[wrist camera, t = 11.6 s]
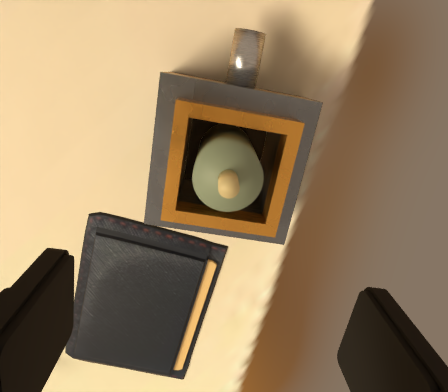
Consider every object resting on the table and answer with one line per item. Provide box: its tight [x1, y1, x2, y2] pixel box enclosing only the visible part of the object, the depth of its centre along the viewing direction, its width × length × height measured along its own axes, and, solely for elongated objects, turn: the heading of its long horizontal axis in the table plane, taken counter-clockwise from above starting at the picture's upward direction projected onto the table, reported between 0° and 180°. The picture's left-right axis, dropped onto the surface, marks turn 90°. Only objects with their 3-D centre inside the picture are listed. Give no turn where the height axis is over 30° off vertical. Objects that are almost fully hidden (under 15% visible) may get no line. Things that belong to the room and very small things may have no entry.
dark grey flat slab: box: [66, 212, 228, 379], centre depth 38 cm, size 20×2×15 cm
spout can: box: [192, 124, 264, 212], centre depth 27 cm, size 5×5×11 cm
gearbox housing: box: [144, 28, 323, 245], centre depth 27 cm, size 16×12×8 cm
